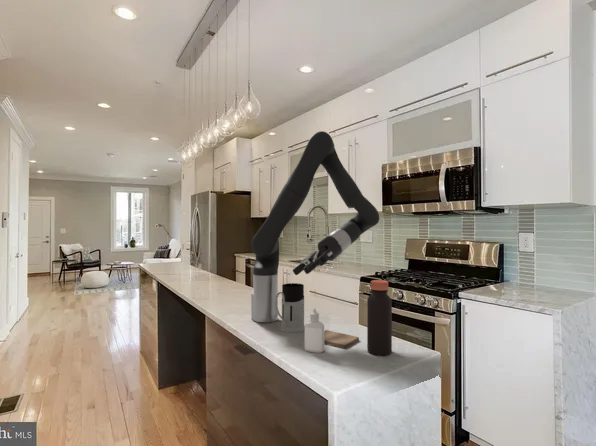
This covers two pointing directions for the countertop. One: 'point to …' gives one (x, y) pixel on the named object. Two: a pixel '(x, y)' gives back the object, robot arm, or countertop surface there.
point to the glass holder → (292, 307)
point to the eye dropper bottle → (314, 334)
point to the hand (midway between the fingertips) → (299, 272)
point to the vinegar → (379, 319)
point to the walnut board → (339, 339)
